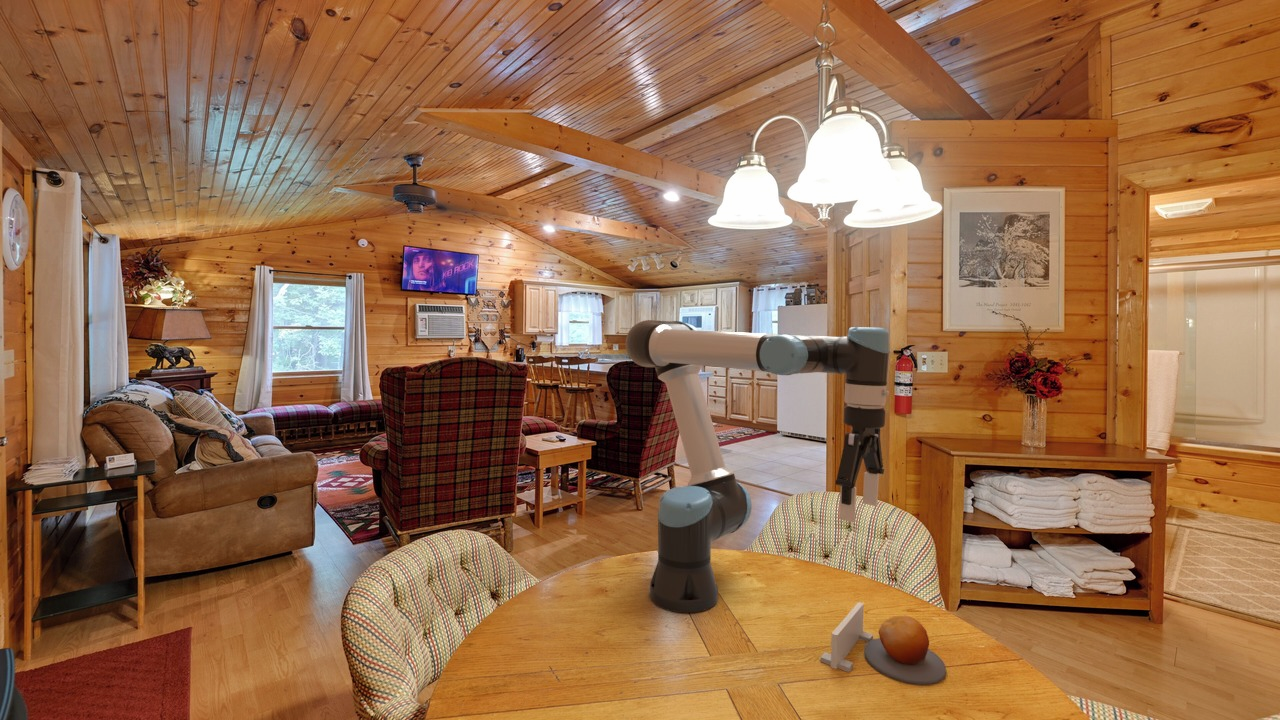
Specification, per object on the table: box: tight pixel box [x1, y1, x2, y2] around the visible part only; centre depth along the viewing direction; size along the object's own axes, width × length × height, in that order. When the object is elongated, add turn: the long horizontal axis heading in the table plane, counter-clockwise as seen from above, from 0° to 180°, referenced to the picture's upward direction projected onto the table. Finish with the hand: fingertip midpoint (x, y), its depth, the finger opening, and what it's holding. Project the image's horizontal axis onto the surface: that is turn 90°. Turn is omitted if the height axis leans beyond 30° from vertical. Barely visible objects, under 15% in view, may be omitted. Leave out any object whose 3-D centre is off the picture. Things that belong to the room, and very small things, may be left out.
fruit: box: [878, 615, 930, 665], centre depth 96 cm, size 8×8×8 cm
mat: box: [863, 637, 947, 686], centre depth 96 cm, size 13×13×1 cm
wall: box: [820, 601, 874, 673], centre depth 100 cm, size 5×15×6 cm, turn 141°
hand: (858, 512), depth 107 cm, fingers open, 13 cm apart
